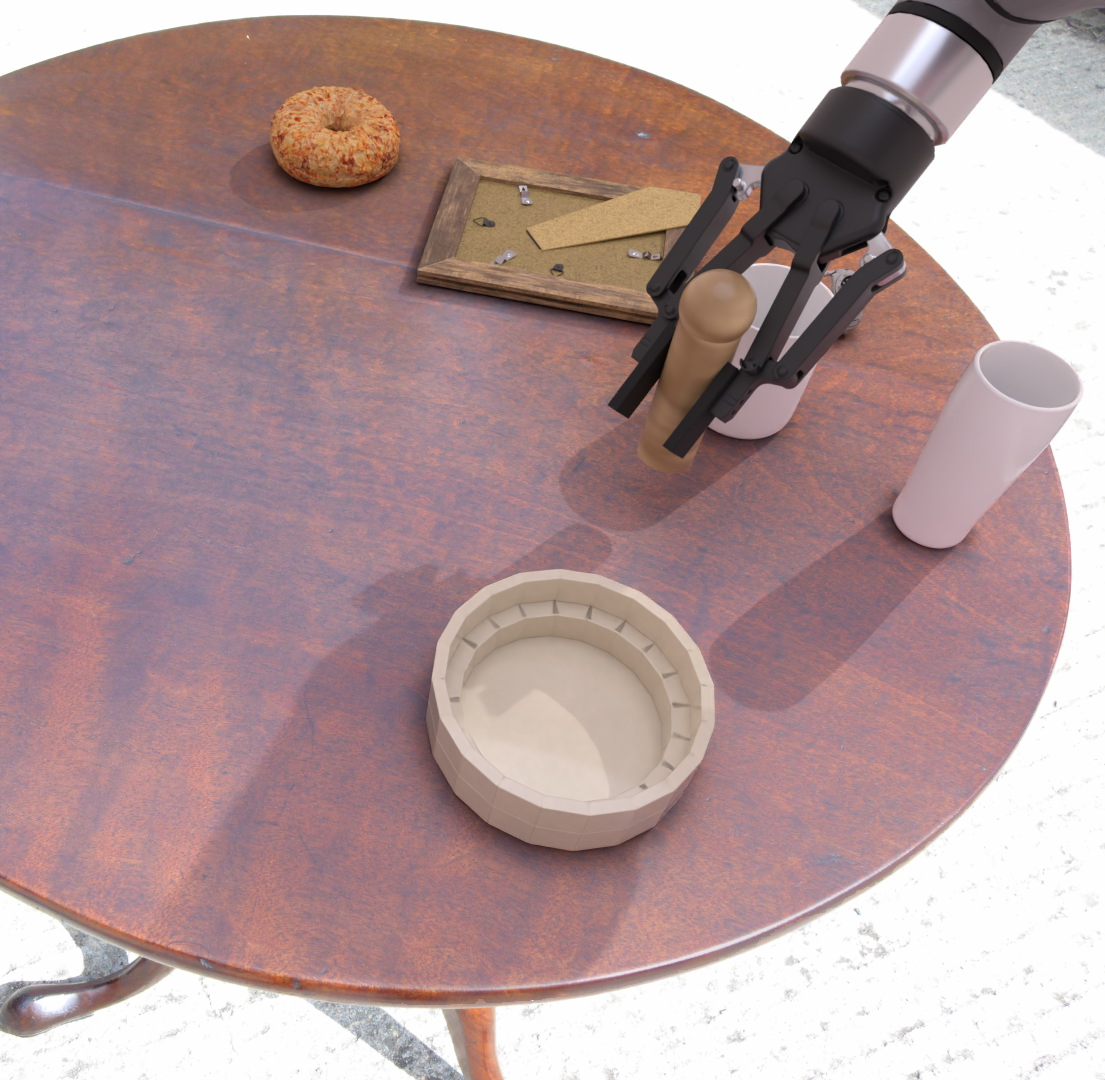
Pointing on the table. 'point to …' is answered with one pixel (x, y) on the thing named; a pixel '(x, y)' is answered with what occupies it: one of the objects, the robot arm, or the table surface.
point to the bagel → (334, 137)
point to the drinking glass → (985, 439)
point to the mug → (770, 401)
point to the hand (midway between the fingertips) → (645, 431)
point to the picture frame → (553, 238)
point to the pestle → (696, 358)
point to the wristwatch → (838, 281)
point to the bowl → (568, 708)
